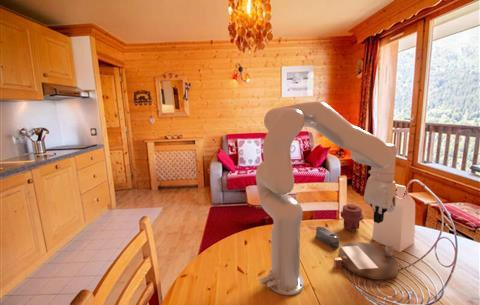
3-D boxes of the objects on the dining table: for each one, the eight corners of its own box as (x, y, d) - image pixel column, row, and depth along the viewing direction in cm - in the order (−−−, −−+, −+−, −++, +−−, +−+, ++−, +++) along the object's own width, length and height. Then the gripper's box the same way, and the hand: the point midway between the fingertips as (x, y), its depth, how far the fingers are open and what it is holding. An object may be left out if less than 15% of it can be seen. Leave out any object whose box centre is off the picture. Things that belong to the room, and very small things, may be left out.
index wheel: (337, 271, 88) (338, 254, 87) (339, 242, 106) (340, 228, 105) (402, 285, 80) (404, 267, 79) (393, 252, 98) (394, 237, 97)
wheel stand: (350, 279, 85) (351, 270, 85) (332, 266, 92) (333, 258, 92) (379, 265, 92) (379, 257, 91) (360, 254, 99) (360, 246, 98)
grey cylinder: (334, 249, 103) (334, 239, 103) (314, 236, 114) (314, 227, 113) (341, 246, 105) (341, 237, 104) (320, 234, 116) (320, 225, 115)
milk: (371, 239, 110) (375, 183, 106) (386, 231, 116) (390, 179, 111) (400, 251, 100) (405, 191, 95) (414, 243, 106) (420, 185, 101)
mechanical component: (359, 225, 123) (365, 235, 113) (338, 224, 125) (342, 234, 115) (360, 202, 121) (366, 210, 111) (339, 201, 123) (343, 209, 113)
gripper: (357, 172, 96) (354, 216, 100) (395, 182, 83) (391, 232, 86) (370, 170, 100) (367, 212, 103) (409, 179, 86) (403, 227, 90)
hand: (378, 221), depth 95 cm, fingers closed
